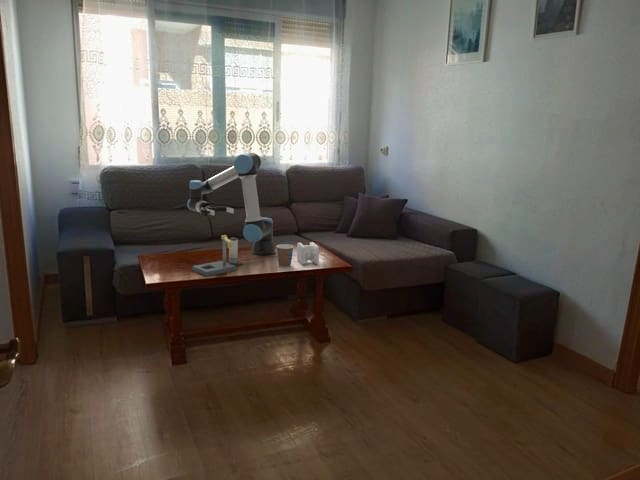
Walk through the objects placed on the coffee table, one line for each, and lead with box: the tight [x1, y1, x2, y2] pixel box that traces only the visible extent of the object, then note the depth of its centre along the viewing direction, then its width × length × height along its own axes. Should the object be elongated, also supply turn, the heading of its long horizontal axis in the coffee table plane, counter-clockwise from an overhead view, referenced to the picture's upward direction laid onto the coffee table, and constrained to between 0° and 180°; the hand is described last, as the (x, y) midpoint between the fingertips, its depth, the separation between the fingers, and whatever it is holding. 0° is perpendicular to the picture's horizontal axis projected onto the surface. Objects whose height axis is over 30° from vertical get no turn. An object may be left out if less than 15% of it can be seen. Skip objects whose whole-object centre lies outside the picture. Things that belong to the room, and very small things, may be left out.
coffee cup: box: [275, 243, 295, 268], centre depth 302 cm, size 10×10×12 cm
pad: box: [226, 261, 244, 267], centre depth 303 cm, size 8×8×1 cm
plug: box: [227, 236, 239, 264], centre depth 301 cm, size 6×6×15 cm
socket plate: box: [191, 240, 237, 277], centre depth 287 cm, size 19×15×17 cm
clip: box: [220, 234, 231, 249], centre depth 285 cm, size 16×3×4 cm, turn 22°
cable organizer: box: [296, 241, 320, 266], centre depth 311 cm, size 15×11×12 cm
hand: (223, 212), depth 303 cm, fingers open, 13 cm apart
